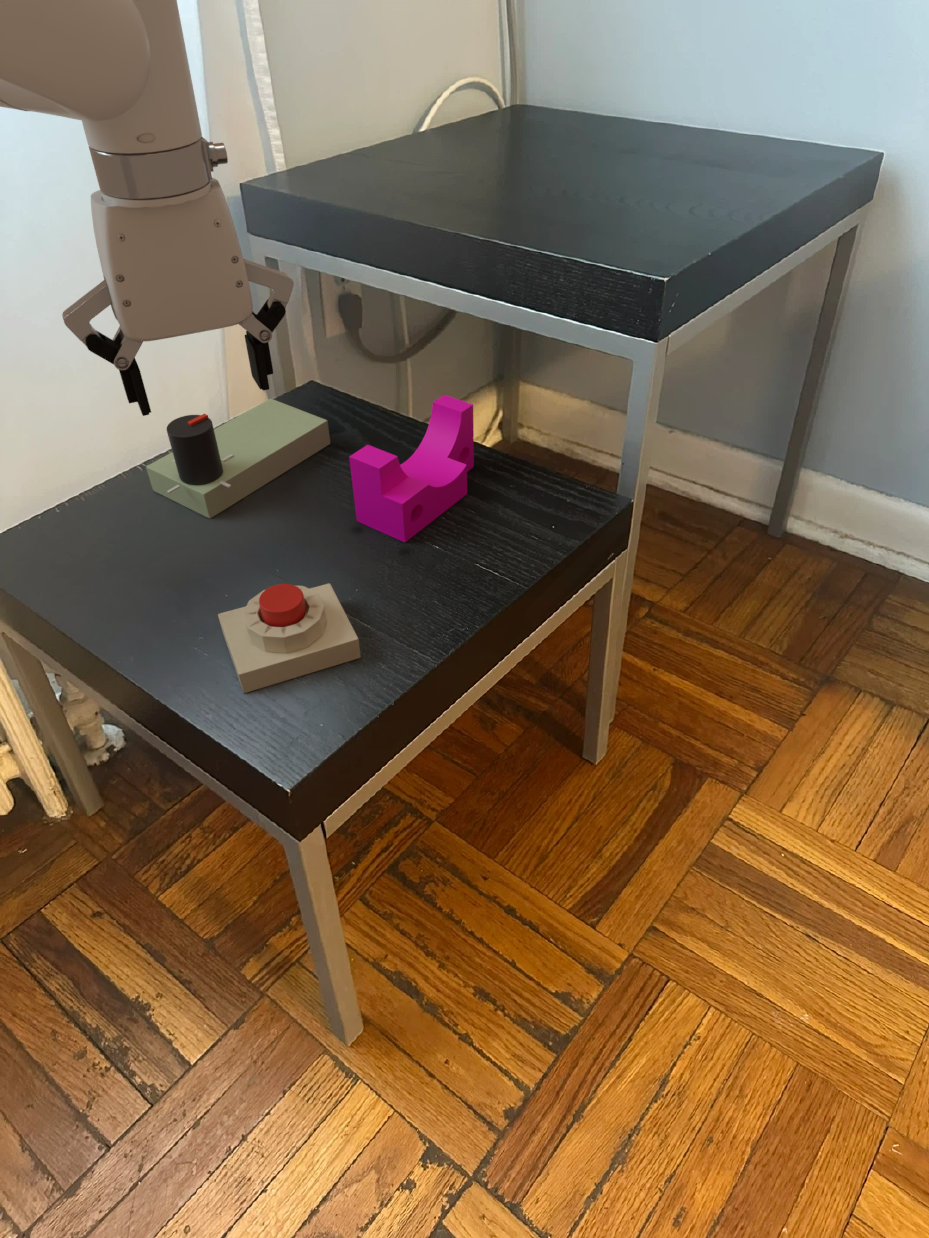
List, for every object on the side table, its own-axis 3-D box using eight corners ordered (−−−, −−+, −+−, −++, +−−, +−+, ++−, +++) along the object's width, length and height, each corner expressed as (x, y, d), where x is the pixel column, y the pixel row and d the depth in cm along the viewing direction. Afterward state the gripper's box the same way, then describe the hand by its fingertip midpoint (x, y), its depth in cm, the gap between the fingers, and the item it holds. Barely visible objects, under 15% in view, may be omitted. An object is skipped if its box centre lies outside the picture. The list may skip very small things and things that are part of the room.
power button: (268, 633, 71) (264, 616, 70) (257, 606, 74) (254, 590, 72) (311, 620, 72) (308, 604, 71) (299, 594, 75) (296, 578, 74)
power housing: (243, 693, 71) (234, 658, 68) (222, 632, 77) (213, 597, 74) (361, 657, 74) (356, 622, 71) (332, 601, 80) (327, 566, 77)
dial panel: (203, 532, 88) (196, 505, 86) (138, 498, 92) (130, 473, 90) (338, 447, 100) (335, 422, 97) (274, 421, 104) (270, 397, 102)
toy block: (405, 542, 86) (400, 477, 81) (356, 521, 89) (349, 456, 84) (492, 474, 95) (493, 411, 90) (446, 456, 98) (444, 394, 93)
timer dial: (197, 490, 88) (184, 439, 84) (170, 475, 90) (156, 425, 86) (232, 471, 90) (220, 420, 87) (204, 457, 93) (192, 407, 89)
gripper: (260, 143, 66) (292, 357, 78) (16, 172, 61) (89, 398, 72) (288, 167, 61) (318, 393, 73) (24, 202, 56) (101, 440, 67)
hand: (203, 395), depth 72 cm, fingers open, 9 cm apart
